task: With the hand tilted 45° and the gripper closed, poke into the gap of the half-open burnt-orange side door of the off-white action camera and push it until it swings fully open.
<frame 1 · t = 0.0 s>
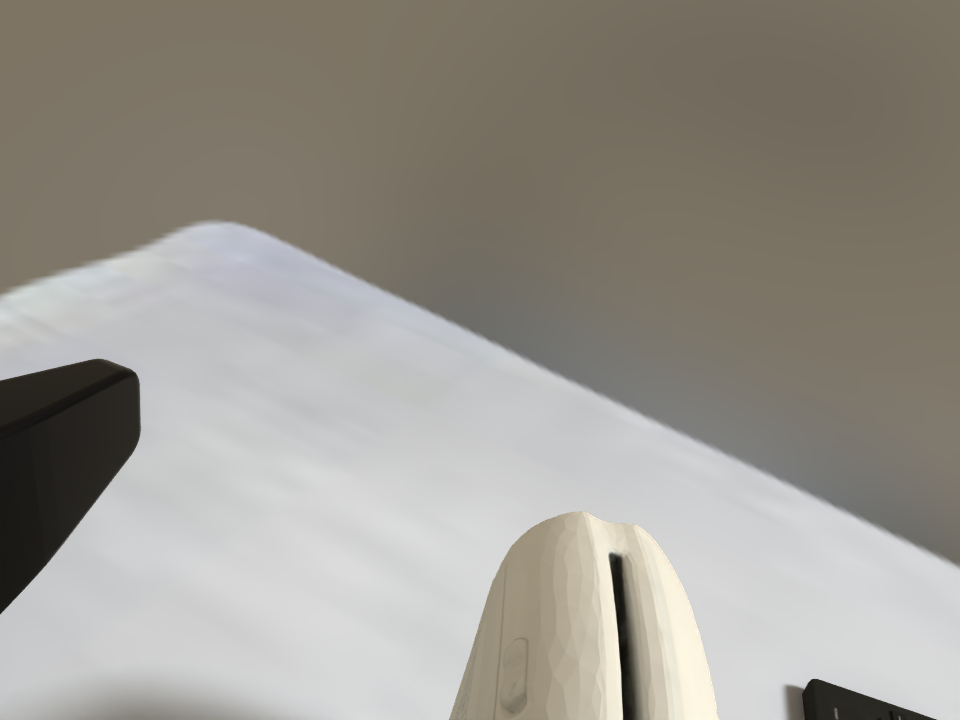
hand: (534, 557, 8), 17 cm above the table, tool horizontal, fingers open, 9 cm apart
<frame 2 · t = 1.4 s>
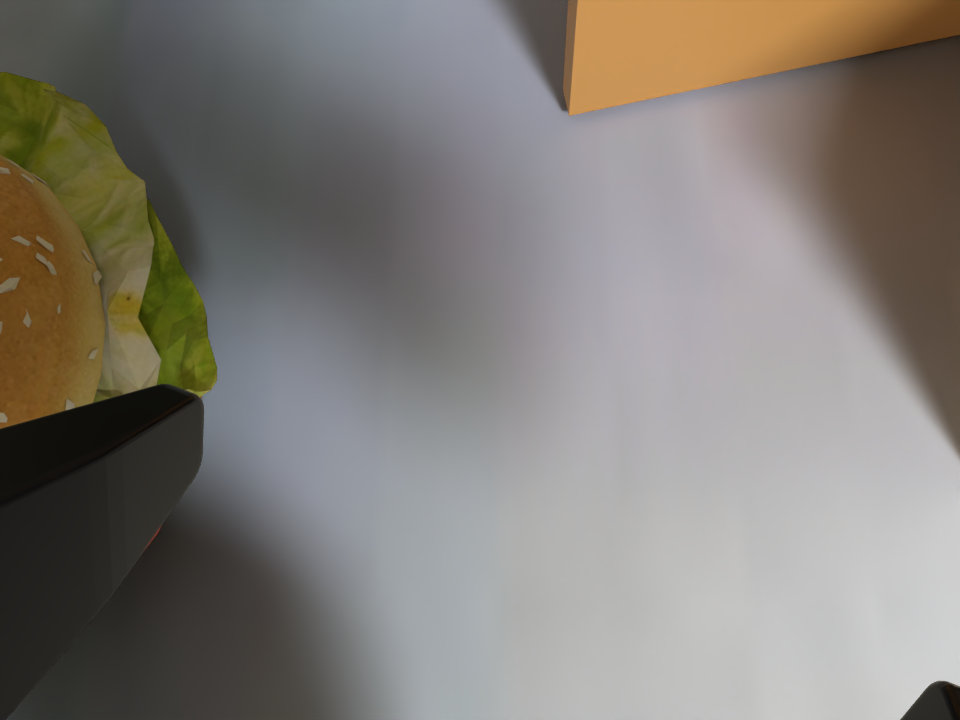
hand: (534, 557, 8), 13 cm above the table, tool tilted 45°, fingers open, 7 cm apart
food: (23, 402, 22), on the table
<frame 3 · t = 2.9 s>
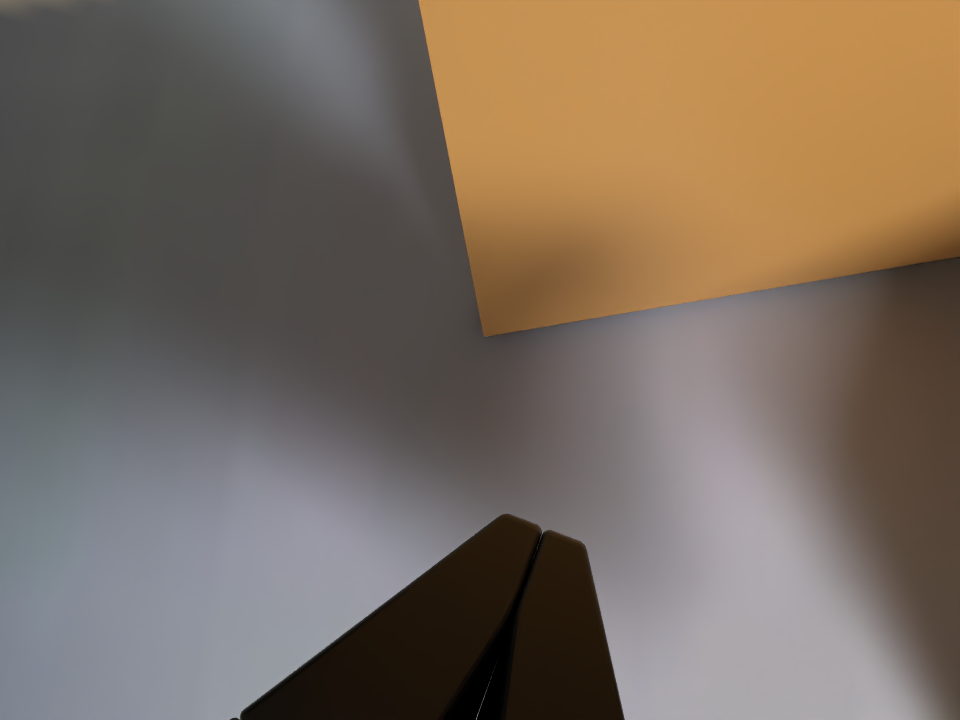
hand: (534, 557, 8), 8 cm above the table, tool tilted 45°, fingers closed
side door: (958, 113, 12), point 5 cm above the table, hinge at 60.0°
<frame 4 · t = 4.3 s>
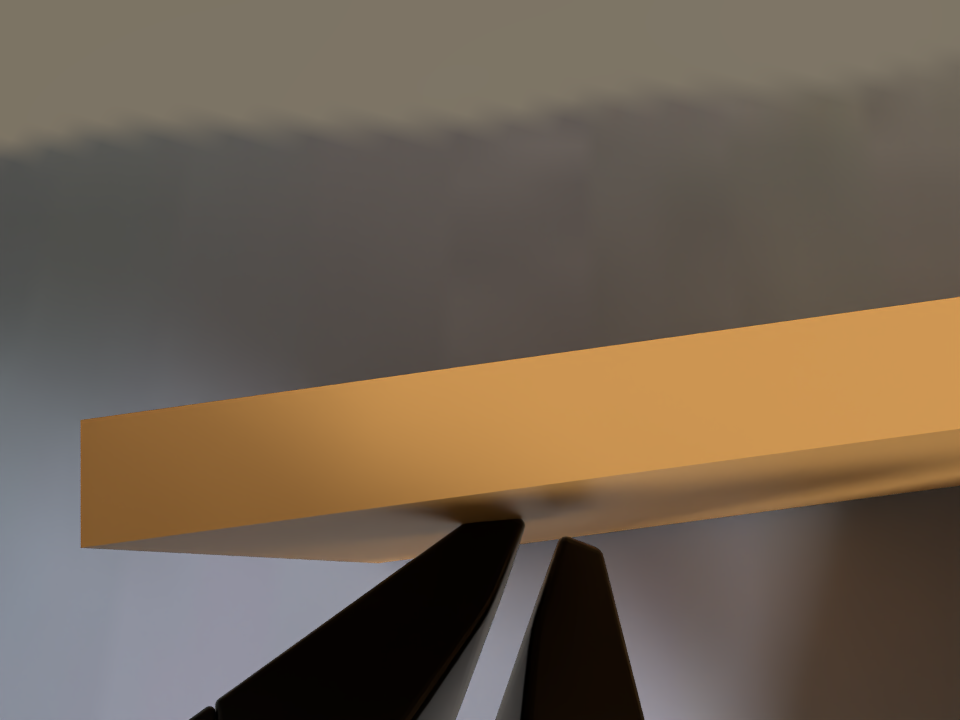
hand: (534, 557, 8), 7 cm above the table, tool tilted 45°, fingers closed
side door: (895, 427, 10), point 5 cm above the table, hinge at 61.7°, touching gripper
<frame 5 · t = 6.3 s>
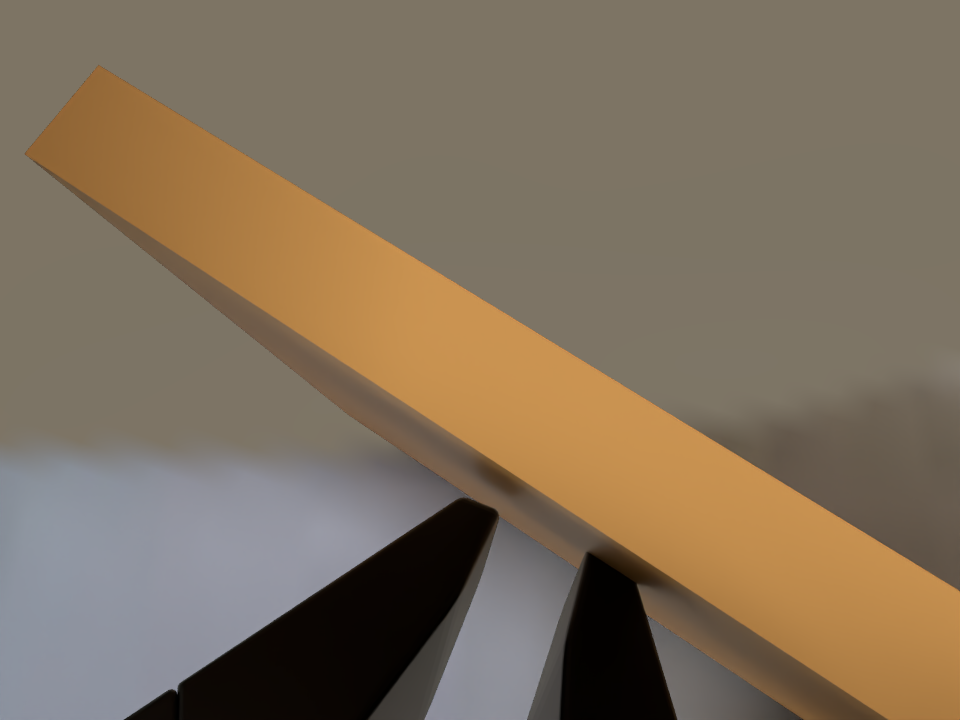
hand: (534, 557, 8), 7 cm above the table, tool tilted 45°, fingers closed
side door: (802, 639, 9), point 5 cm above the table, hinge at 102.5°, touching gripper
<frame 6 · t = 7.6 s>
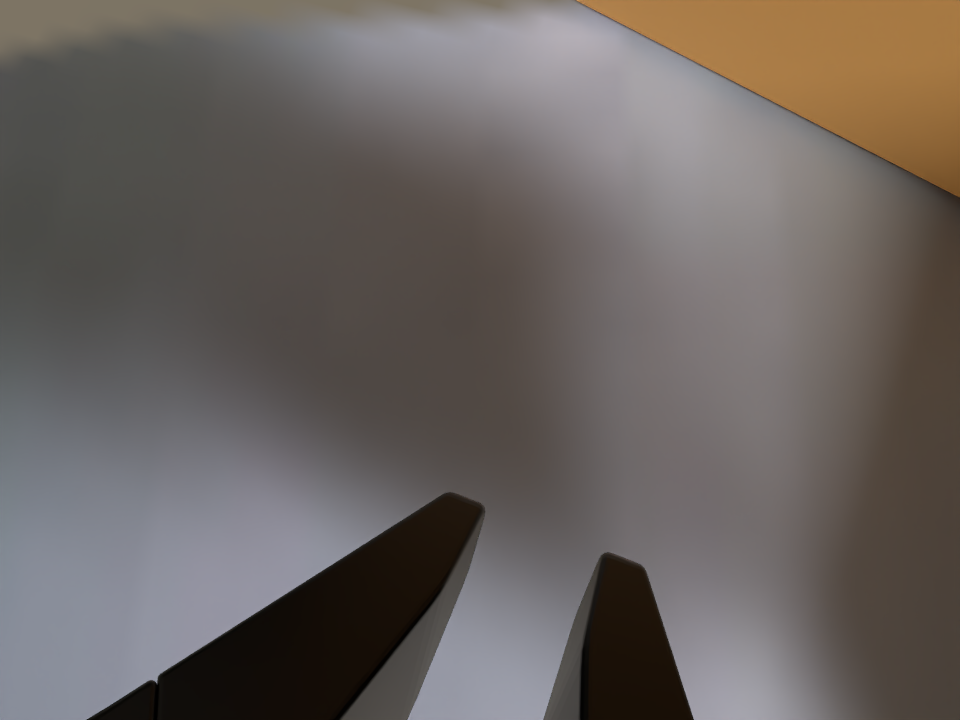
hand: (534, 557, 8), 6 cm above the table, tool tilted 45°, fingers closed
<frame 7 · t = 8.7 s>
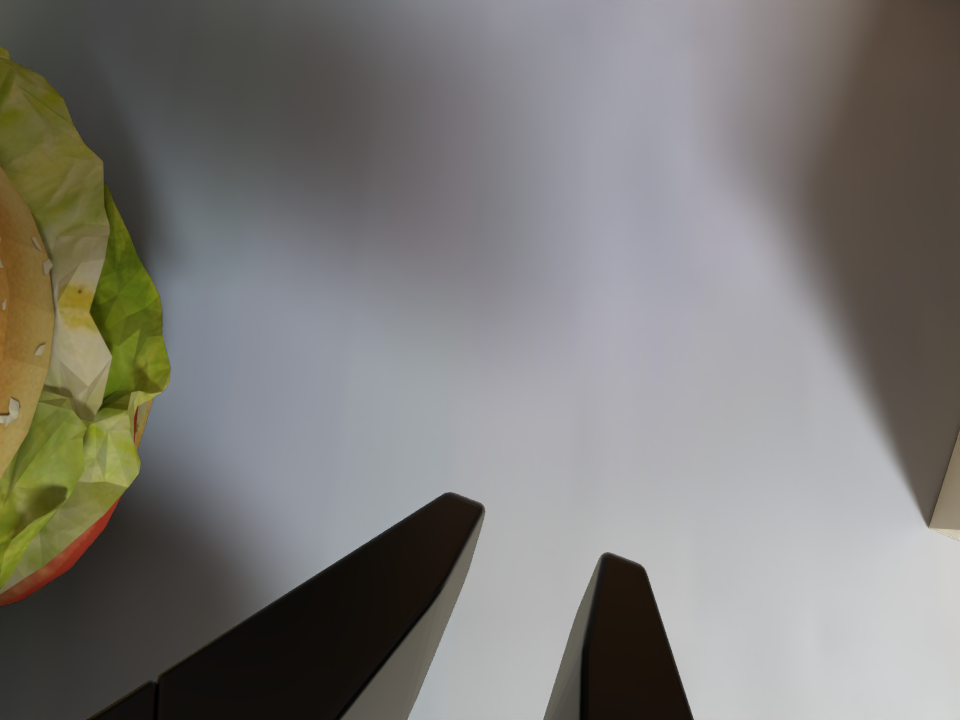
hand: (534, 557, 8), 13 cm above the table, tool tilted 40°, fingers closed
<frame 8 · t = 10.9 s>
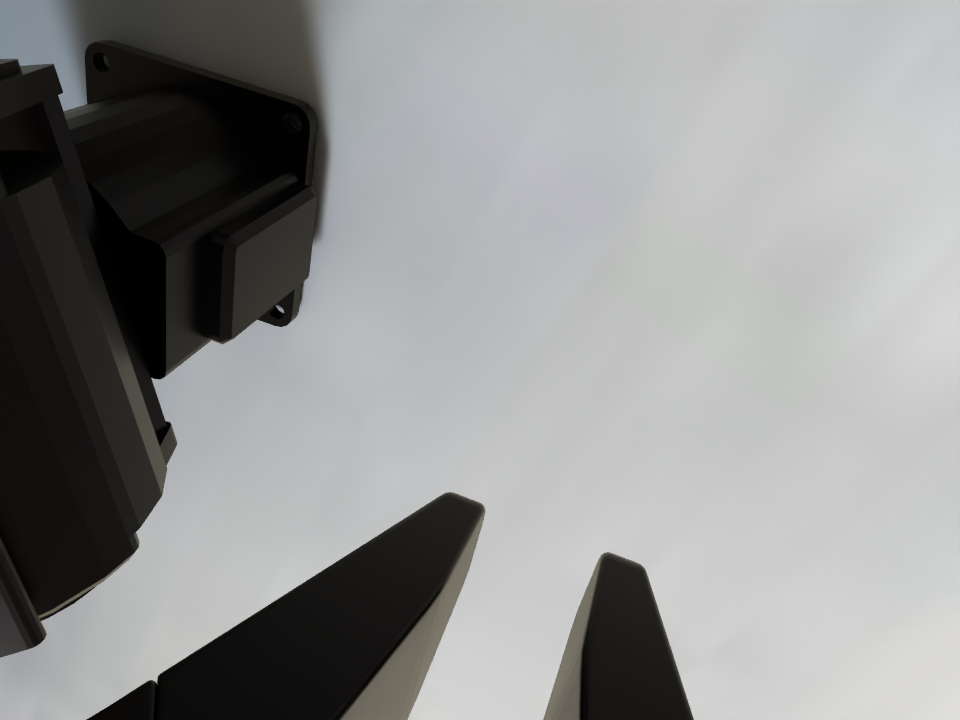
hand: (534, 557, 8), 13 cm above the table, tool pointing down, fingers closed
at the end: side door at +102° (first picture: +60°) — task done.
